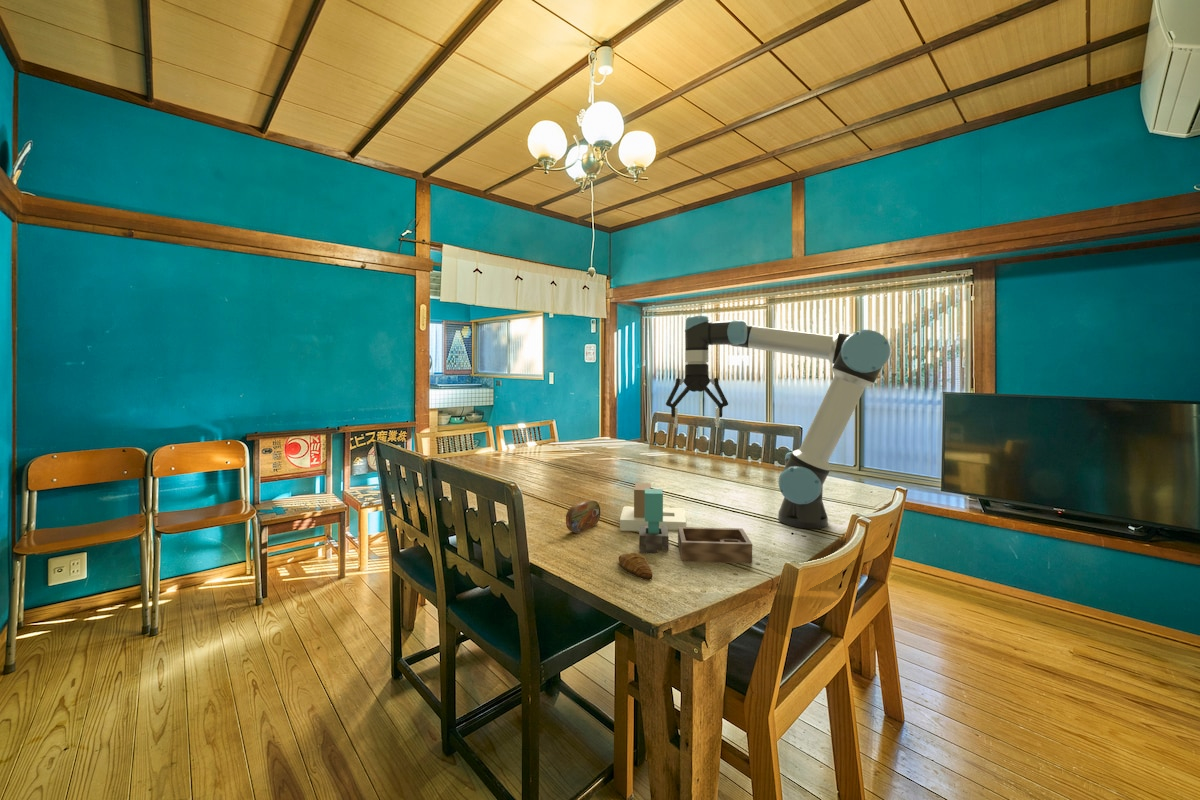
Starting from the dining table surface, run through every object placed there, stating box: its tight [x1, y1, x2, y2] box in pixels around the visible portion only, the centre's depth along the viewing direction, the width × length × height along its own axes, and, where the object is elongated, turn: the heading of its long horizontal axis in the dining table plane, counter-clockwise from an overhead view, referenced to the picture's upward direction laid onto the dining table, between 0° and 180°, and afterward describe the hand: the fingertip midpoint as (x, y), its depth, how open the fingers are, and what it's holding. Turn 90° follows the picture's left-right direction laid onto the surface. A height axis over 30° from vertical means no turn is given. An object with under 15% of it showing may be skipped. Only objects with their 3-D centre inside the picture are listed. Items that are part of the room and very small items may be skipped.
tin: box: [565, 500, 601, 534], centre depth 153 cm, size 15×3×8 cm, turn 143°
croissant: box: [618, 552, 653, 581], centre depth 121 cm, size 14×7×5 cm, turn 30°
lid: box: [619, 482, 687, 532], centre depth 157 cm, size 21×15×12 cm
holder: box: [638, 526, 670, 555], centre depth 136 cm, size 8×8×5 cm
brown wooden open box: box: [677, 526, 753, 564], centre depth 130 cm, size 18×12×6 cm, turn 85°
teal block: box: [645, 488, 664, 534], centre depth 136 cm, size 5×5×16 cm
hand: (696, 427), depth 160 cm, fingers open, 13 cm apart
